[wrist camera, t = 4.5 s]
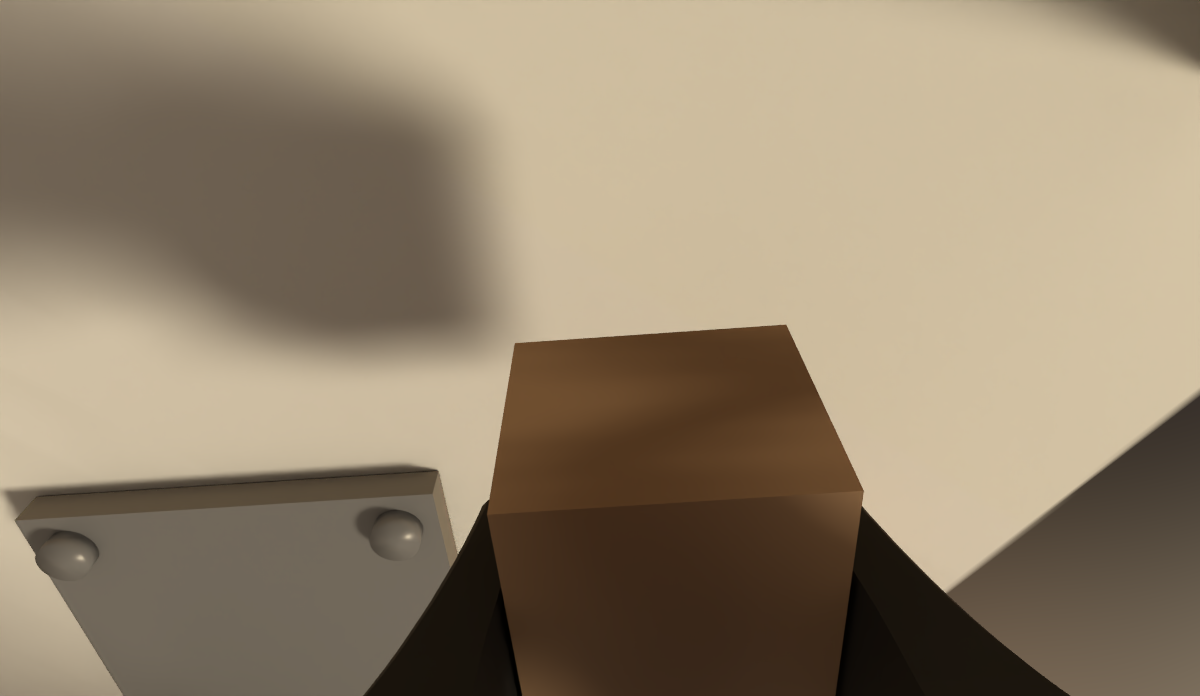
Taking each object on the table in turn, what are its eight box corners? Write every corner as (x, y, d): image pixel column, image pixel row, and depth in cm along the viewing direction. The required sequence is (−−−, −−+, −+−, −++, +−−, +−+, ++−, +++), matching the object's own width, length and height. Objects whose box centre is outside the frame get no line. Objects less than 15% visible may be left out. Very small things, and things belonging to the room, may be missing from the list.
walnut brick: (786, 324, 12) (863, 491, 9) (769, 585, 15) (823, 784, 12) (514, 343, 12) (486, 514, 9) (552, 597, 15) (542, 799, 12)
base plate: (438, 470, 22) (428, 508, 21) (495, 719, 28) (491, 761, 27) (36, 496, 23) (1, 535, 21) (178, 738, 29) (158, 780, 27)
